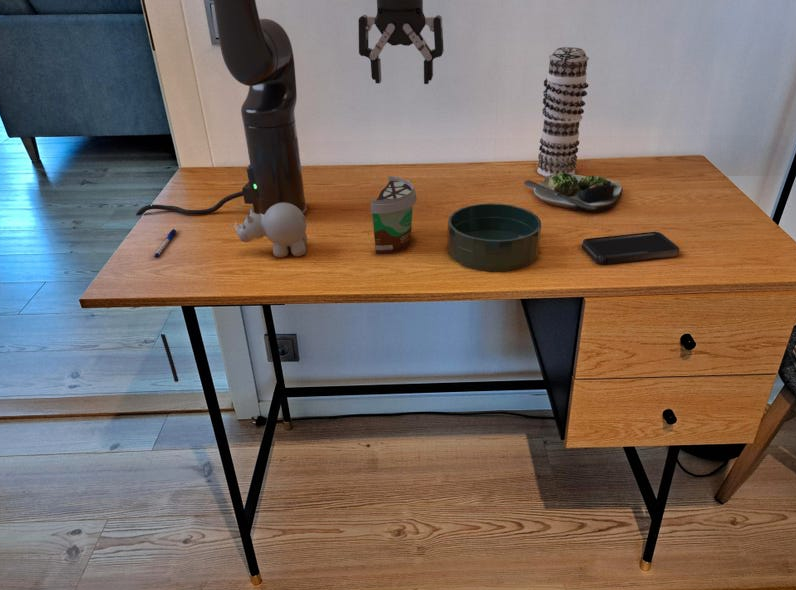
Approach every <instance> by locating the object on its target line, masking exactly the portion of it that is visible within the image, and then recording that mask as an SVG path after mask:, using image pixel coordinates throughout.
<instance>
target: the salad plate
mask: <svg viewBox="0 0 796 590" xmlns="http://www.w3.org/2000/svg"><path fill="white" fill-rule="evenodd" d="M523 184H524V186H526V187H528V188H530V189H531V190H532V191H533V195H534V196H535V197H537V198H538V199H539V200H541V201H542V202H543V203H546V204H548V205H550V206H554V207H557V208H558V207H559V208H564V209H568V210H573V211H576V212H584V213H601V212H602V213H603V212H606V211H608V210H610V209H612V207H614V206H615V205H616V204H617V202H618V200H619V199H620V197H621V195H622V193H623V190H624V189H623V186H622V184H621V183H619V182H617V181H616V180H613V179H609V178H605V177H603V176H602V177H601V176H599V175H596V176H594V175H589V176H586V175H580V174H576V173H575V174H568V173H563V172H561V173H559V174H553V175H549V176H547V177H546V176H545V177H544V178H543V179H542V180H541V182H540V183H537V182H535V181H532V180H530V179H528V180H524V181H523Z"/></svg>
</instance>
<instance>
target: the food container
mask: <svg viewBox="0 0 796 590" xmlns="http://www.w3.org/2000/svg"><path fill="white" fill-rule="evenodd" d="M417 200H418V198H417V193H416V190H415V188H414V185H413V184H412V182H411V181H408V180H407V179H404V178H402V177H397V176H390V175H389V176H388V182H387V185H386V186H385V187H383V188H382V190H380V192H379V194H378V196H377V198H376V199H371V200H370V203H371V204H370V214H371V217H372V226H373V227H372V229H373V237H374V247H375V254H376V255H388V254H389V255H391V254H396V253H399V252H402V251H404V250H407V248H409V247H410V246H411V242H412V226H413V208H414V205H415V204H416V203H417Z"/></svg>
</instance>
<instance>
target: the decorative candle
mask: <svg viewBox="0 0 796 590" xmlns="http://www.w3.org/2000/svg"><path fill="white" fill-rule="evenodd" d="M548 59H549V65H548V66H549V67H548V72H547V76H546V78H545V79H544V80H543V86H544V87H545V89H544V90H543V91H542V93H543V97H544V98H542V104H543V105H544V107H543V108H542V117H541V118H542V119H543V128H542V131H541V138H540V139H539V143H540V145H539V148H538V150H539V151H540V152H539V154H538V156H537V159H538V161H537V169H536V170H537V174H539V175H541V176H542V177H545V178H546V177H547V176H549V175H553V174H559V173H561V172H563V173H568V174H575V175H576V169H577V161H578V155H577V153H579V148H578V146H579V145H580V141H579V138H580V137H579V136H580V130H579V129H580V122H581V121H582V120H583V115H582V114H584V113H585V110H584V109H583V107H584V106H586V102H585V101H584V100H583V98H584V97H586V96H588V92H587V91H586V89H587V88H589V86H590V85H589V84H588V83H587V76H588V74H587V68H588V62H589V60H590V57H588V56H587V53H586V52H585V51H584V50H583V49H582V48H579V47H572V46H565V47H558V48H556V49H555V50H554V51H553V52H552V54H551V55H549V56H548Z"/></svg>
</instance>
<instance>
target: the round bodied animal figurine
mask: <svg viewBox="0 0 796 590" xmlns="http://www.w3.org/2000/svg"><path fill="white" fill-rule="evenodd" d="M234 229H235V231H236V233H237V234H236V235H237V237H238V239H239V240H240V241H241V242H243V243H250V242H252V241H253V240H259V239H263V238H264V237H266V238H267V239H268V240H269V241H271V243H272V254H273V256H274V257H277V258H285V257H286V256H288V255H289V249H290V253H291V254H292V255H293V256H294V257H302V256H304V255H306V253H307V247H306V245H307V243H308V235H307V232H306V231H307V220H306V216H305V214H303V213H302V212H301V210H300V209H299V208H297V207H296V206H294V205H292V204H289V203H278V204H275V205H273V206H271V207H270V208H269V209H268V210H267V212H266V213H265V215H263V216H262V215H259V214H255V212H254V209H253V207H252V208H251V207H249V214H247V215H246V216H245V219H244V222H243V224H241V223H240V224H239V225H238V223H237V221H235V222H234Z"/></svg>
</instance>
